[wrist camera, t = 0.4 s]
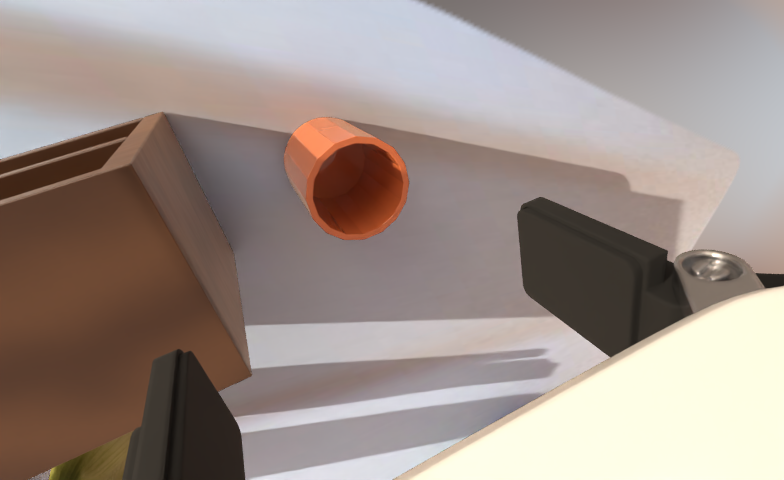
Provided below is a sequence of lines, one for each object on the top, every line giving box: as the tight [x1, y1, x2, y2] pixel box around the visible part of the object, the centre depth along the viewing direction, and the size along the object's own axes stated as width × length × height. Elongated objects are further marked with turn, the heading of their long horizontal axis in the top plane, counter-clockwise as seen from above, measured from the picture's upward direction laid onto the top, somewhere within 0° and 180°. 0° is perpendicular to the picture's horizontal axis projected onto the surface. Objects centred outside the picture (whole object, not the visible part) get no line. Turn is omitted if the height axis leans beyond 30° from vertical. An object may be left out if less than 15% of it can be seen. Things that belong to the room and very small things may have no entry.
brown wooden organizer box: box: [0, 112, 252, 480], centre depth 22 cm, size 11×14×14 cm
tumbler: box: [284, 117, 409, 240], centre depth 28 cm, size 6×6×8 cm
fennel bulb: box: [49, 431, 133, 480], centre depth 28 cm, size 6×5×12 cm
